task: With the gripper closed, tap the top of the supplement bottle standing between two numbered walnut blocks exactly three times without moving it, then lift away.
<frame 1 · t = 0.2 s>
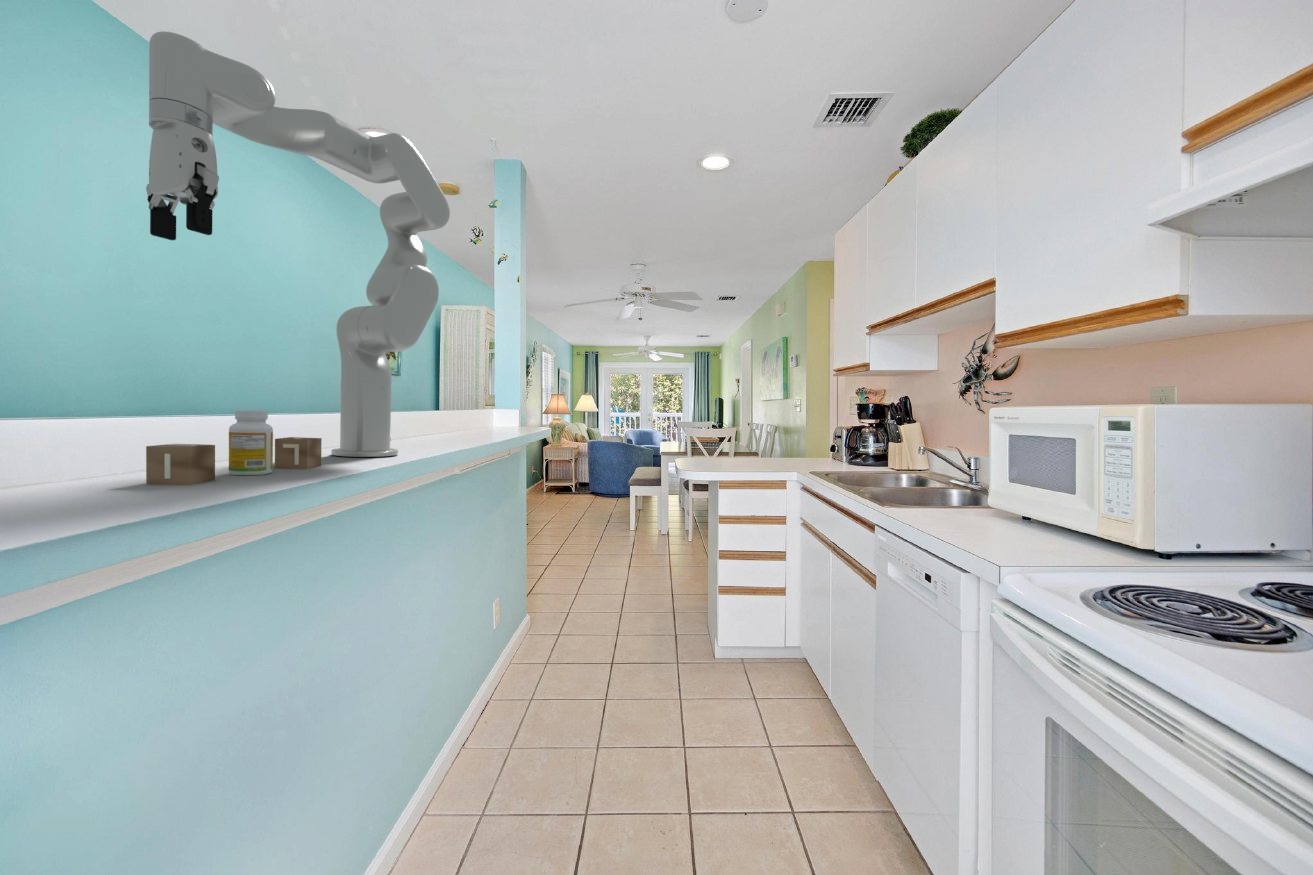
hand: (180, 235, 86), 37 cm above the counter, tool pointing down, fingers open, 9 cm apart
walnut block 7: (298, 467, 93), on the counter
supplement bottle: (251, 475, 83), on the counter
walnut block 1: (182, 482, 73), on the counter
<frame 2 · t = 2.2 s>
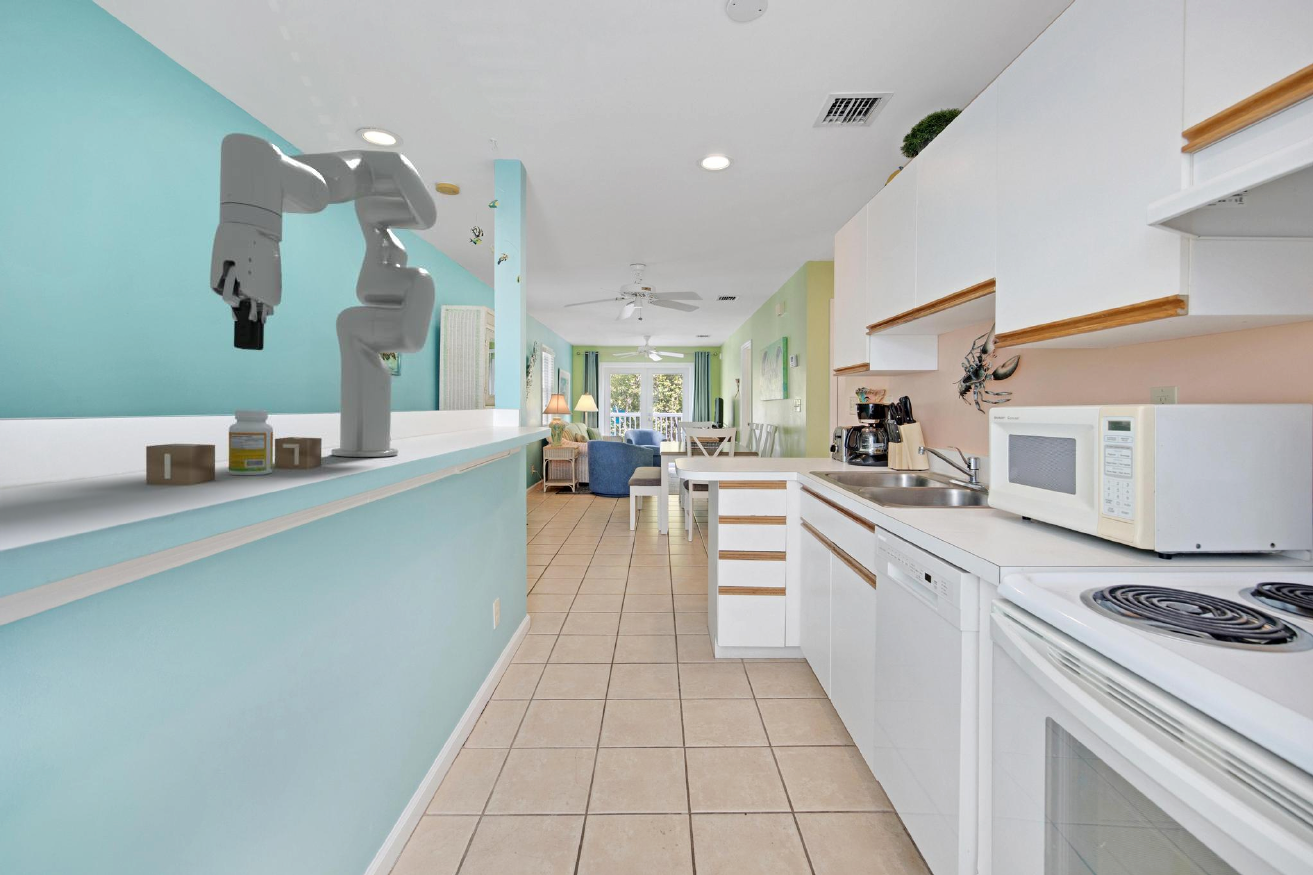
hand: (248, 348, 82), 19 cm above the counter, tool pointing down, fingers closed
nothing on the counter moved.
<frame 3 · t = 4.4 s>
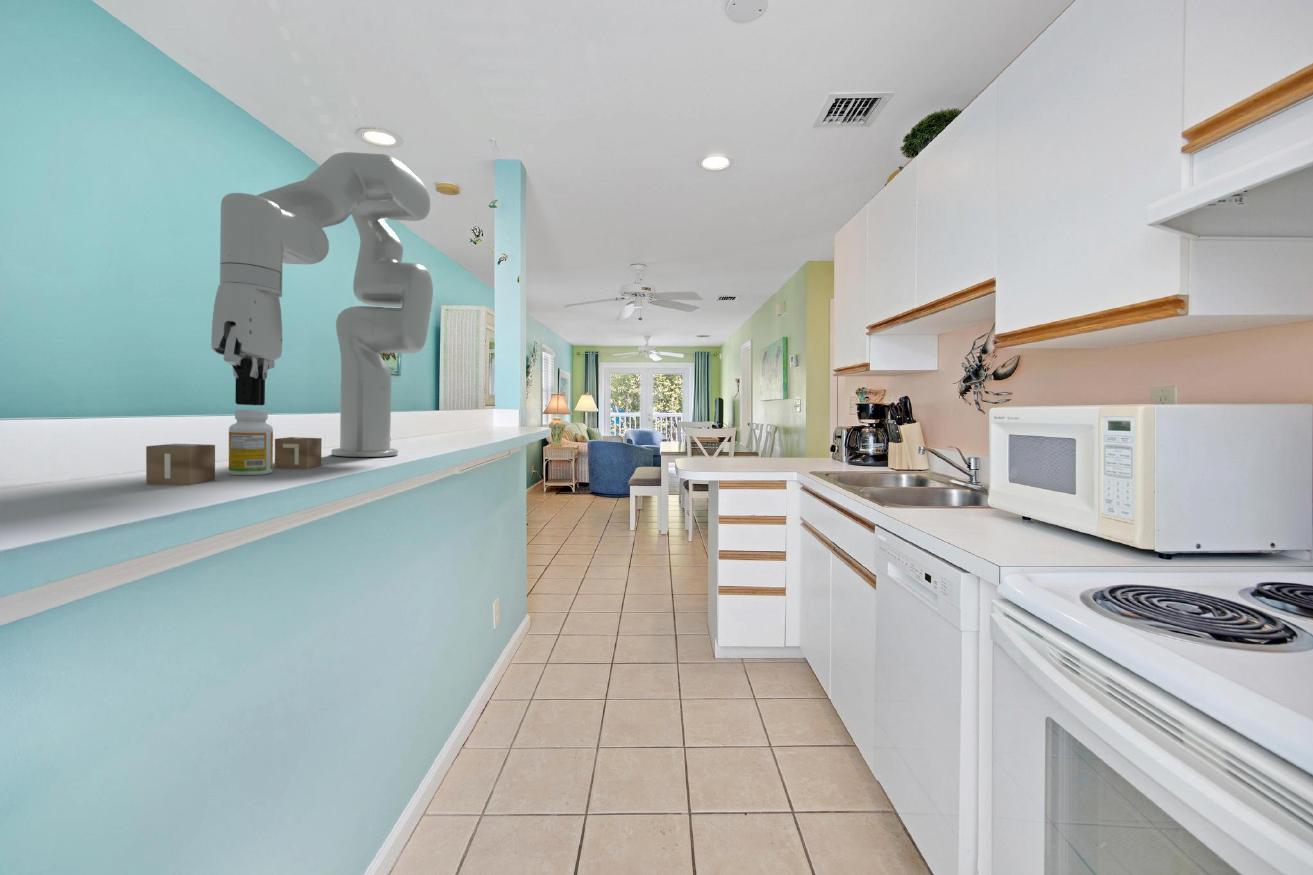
hand: (250, 404, 82), 10 cm above the counter, tool pointing down, fingers closed
nothing on the counter moved.
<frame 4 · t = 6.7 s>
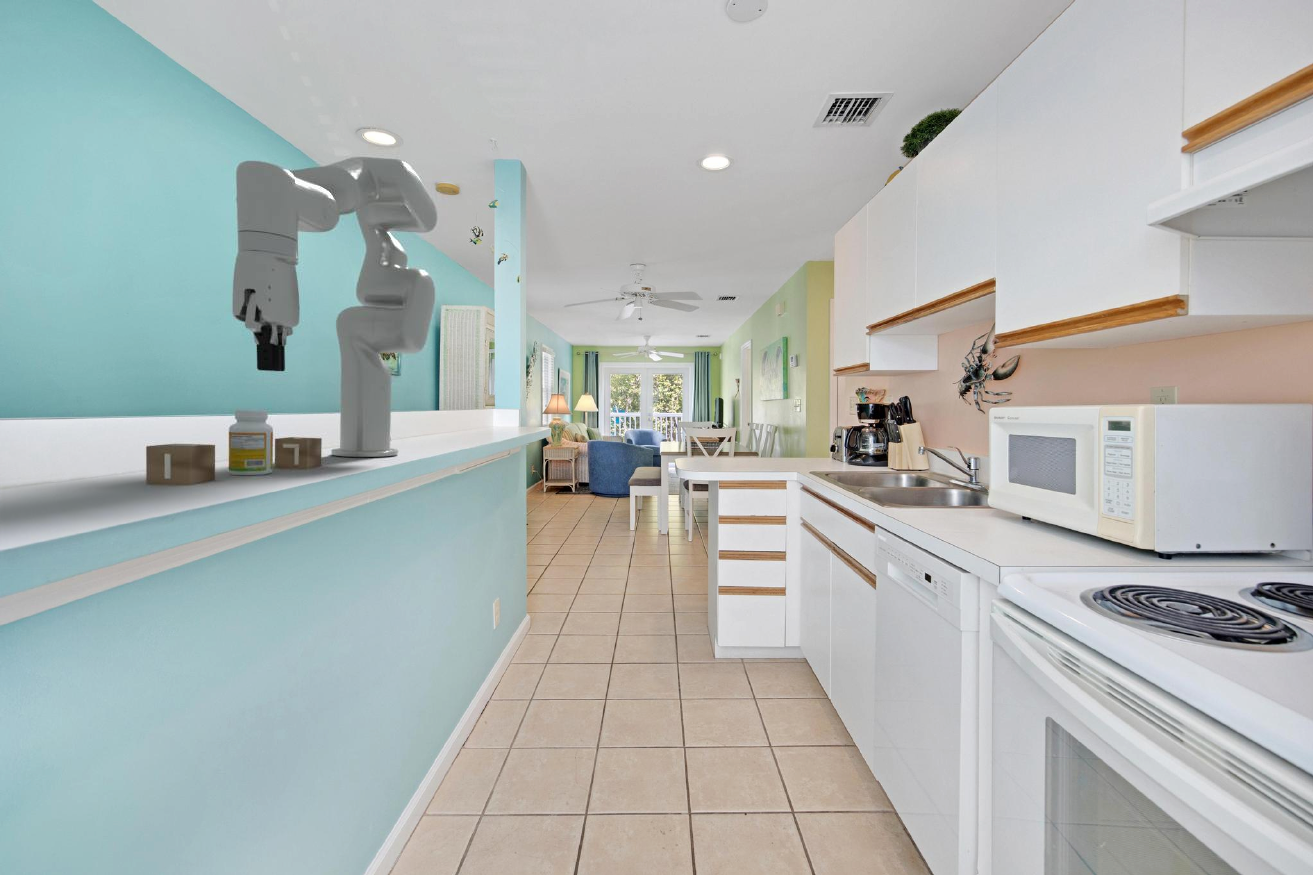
hand: (271, 370, 85), 16 cm above the counter, tool pointing down, fingers closed
nothing on the counter moved.
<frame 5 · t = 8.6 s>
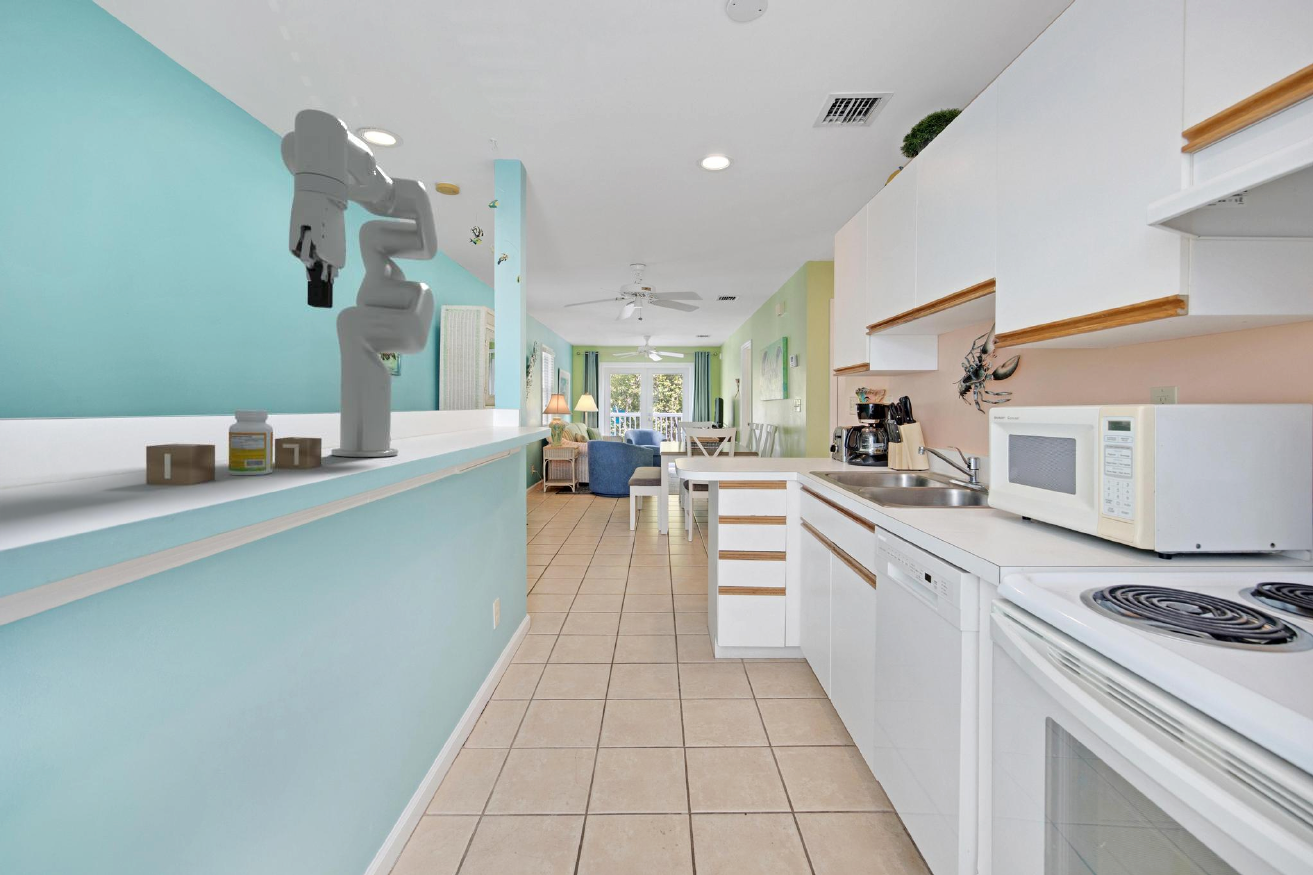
hand: (320, 306, 91), 27 cm above the counter, tool pointing down, fingers closed
nothing on the counter moved.
at the end: supplement bottle moved 0.2 cm from its start; supplement bottle tilted 0°; the gripper is holding nothing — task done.
